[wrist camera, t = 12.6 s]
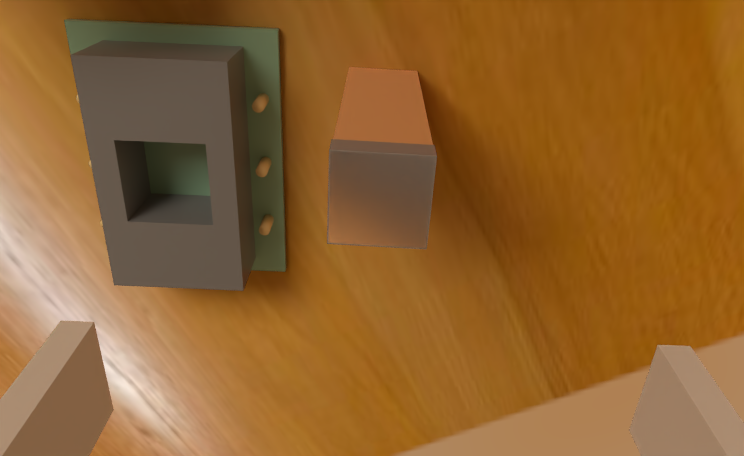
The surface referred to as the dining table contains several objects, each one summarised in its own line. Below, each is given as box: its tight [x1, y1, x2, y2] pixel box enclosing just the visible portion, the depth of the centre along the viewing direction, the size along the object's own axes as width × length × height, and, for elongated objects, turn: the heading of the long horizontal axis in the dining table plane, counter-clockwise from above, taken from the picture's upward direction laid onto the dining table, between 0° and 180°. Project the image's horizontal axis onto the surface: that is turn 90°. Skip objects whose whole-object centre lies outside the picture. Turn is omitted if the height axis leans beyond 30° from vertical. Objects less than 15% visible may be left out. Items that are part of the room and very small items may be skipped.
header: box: [64, 19, 286, 291], centre depth 36 cm, size 16×12×4 cm
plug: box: [327, 67, 437, 249], centre depth 30 cm, size 4×4×14 cm
